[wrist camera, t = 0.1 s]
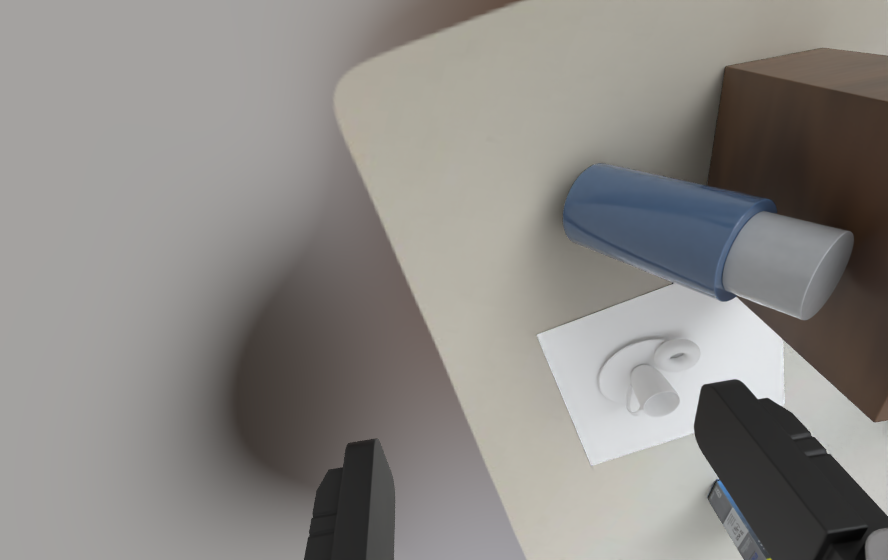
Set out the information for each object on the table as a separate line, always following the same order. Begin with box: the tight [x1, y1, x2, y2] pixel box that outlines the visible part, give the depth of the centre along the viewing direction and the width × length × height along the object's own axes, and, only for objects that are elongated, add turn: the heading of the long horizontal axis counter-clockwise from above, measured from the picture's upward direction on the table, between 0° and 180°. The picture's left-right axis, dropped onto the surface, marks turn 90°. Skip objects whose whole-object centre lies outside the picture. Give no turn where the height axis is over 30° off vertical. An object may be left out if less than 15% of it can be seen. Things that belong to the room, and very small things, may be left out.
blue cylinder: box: [563, 163, 854, 320], centre depth 26 cm, size 6×11×14 cm, turn 99°
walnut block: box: [707, 48, 888, 422], centre depth 25 cm, size 14×6×16 cm, turn 9°
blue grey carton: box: [708, 481, 772, 560], centre depth 47 cm, size 9×4×12 cm, turn 90°
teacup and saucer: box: [598, 338, 702, 419], centre depth 39 cm, size 9×8×4 cm
